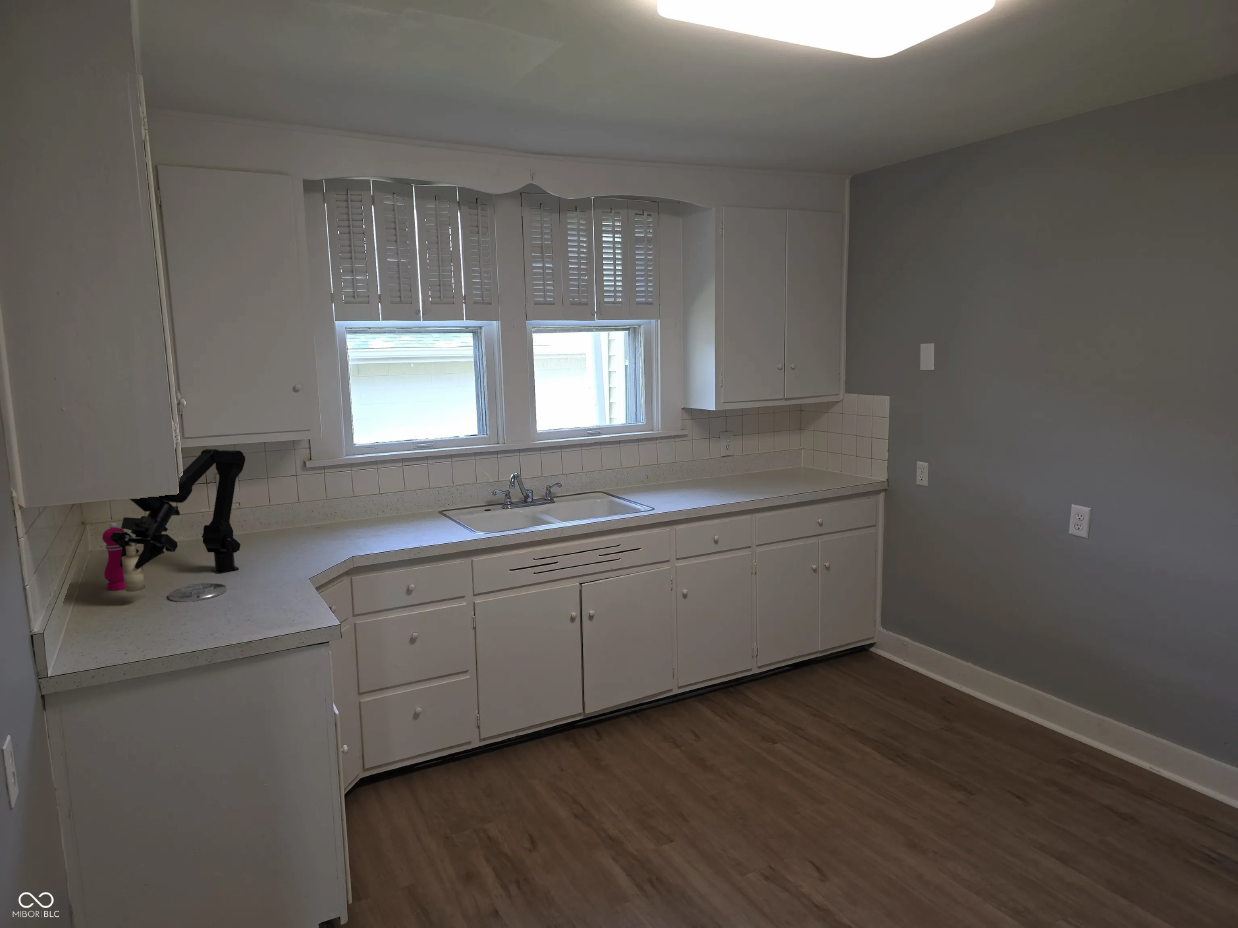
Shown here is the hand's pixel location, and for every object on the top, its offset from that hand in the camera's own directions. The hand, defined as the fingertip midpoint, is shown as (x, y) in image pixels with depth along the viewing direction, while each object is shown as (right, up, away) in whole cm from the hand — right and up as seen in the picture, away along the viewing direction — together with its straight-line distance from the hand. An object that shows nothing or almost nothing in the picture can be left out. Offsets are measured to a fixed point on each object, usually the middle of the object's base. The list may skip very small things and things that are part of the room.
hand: (128, 567), depth 219 cm
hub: (+13, -9, +11) cm, 20 cm away
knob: (0, -6, +2) cm, 7 cm away
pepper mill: (-14, -9, +18) cm, 24 cm away
